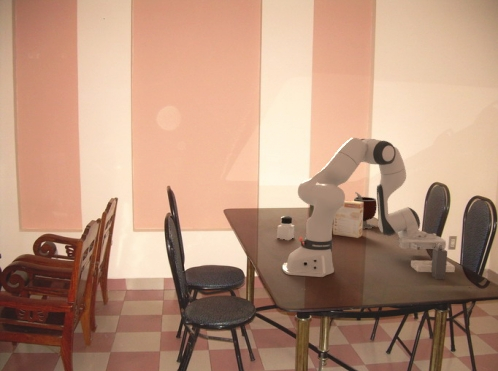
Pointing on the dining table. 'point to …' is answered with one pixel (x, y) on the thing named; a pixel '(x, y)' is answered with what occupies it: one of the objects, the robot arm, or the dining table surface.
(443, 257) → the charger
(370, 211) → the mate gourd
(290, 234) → the medicine bottle
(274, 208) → the dining table surface
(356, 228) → the coffeecake box
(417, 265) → the beige holder tray
